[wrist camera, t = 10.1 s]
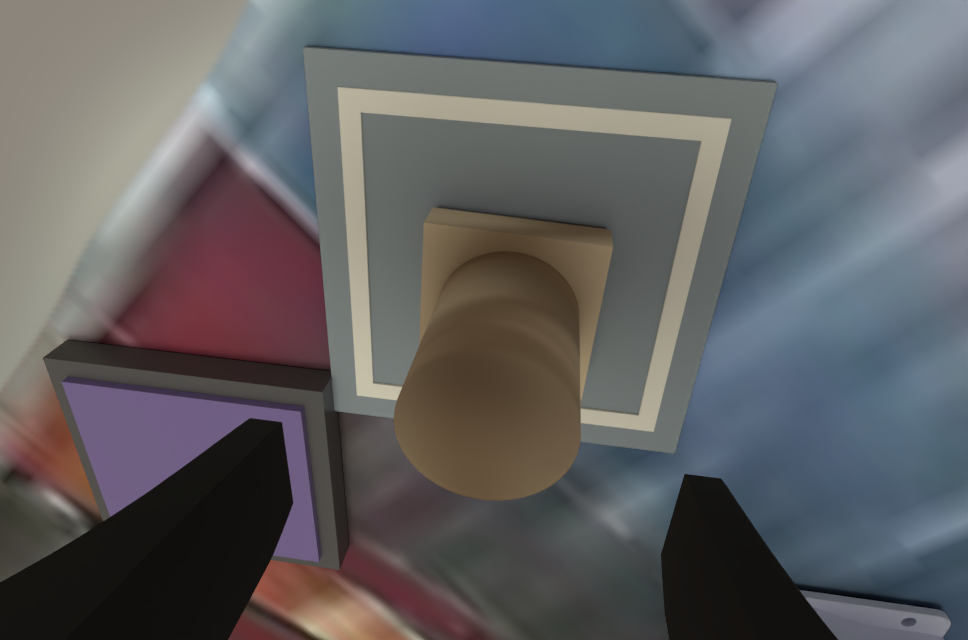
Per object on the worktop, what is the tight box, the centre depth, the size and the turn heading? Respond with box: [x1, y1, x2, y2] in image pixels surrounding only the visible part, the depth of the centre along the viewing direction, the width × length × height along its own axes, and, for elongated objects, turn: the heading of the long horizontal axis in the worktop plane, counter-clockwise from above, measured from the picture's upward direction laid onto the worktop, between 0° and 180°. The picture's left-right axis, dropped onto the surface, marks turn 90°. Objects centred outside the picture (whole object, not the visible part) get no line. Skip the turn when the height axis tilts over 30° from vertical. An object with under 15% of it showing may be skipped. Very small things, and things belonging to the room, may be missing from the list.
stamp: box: [394, 206, 613, 500], centre depth 16 cm, size 5×5×7 cm
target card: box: [303, 46, 778, 454], centre depth 19 cm, size 12×12×1 cm
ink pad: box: [43, 340, 349, 570], centre depth 24 cm, size 10×9×2 cm
